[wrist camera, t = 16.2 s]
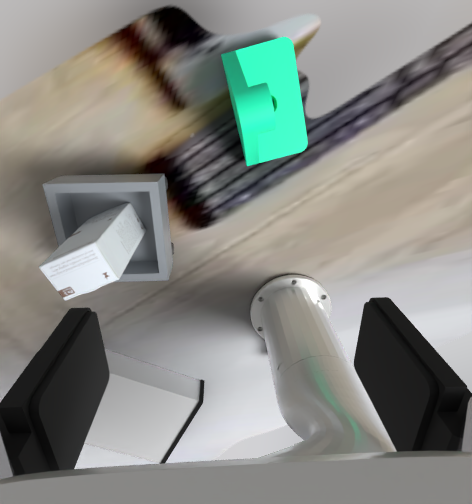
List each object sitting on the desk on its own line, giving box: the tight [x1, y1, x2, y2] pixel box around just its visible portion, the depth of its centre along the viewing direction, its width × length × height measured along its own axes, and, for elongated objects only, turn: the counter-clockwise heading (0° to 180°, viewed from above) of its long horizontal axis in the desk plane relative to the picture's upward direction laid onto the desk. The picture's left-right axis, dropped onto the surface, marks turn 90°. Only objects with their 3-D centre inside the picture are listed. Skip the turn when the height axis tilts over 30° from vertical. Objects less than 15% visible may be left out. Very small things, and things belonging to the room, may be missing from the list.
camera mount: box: [221, 37, 308, 166], centre depth 34 cm, size 12×8×10 cm, turn 14°
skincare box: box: [39, 203, 146, 300], centre depth 35 cm, size 6×4×12 cm
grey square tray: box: [43, 174, 174, 282], centre depth 40 cm, size 12×12×8 cm
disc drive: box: [84, 349, 204, 464], centre depth 55 cm, size 18×22×5 cm
